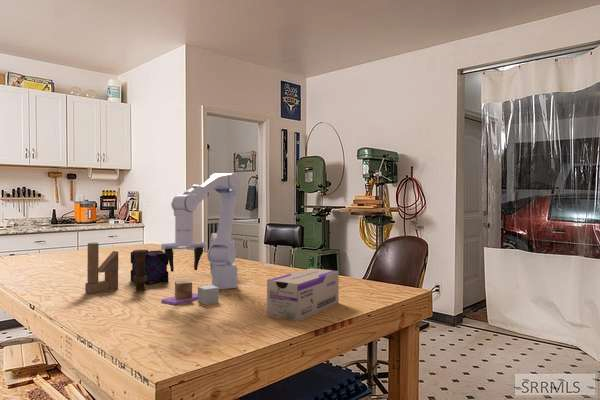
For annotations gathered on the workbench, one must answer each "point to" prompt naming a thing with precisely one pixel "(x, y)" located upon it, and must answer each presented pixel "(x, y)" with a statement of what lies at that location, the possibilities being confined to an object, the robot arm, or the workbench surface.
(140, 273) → the bolt
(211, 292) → the grey block
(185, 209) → the robot arm
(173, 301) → the sponges
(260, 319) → the workbench surface
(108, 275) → the wooden block
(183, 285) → the brown boxy piece
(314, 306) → the surgical sutures box
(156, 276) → the energy cube
